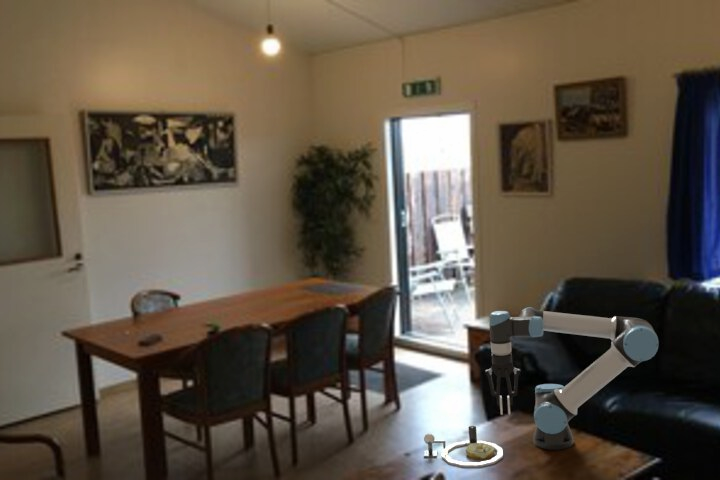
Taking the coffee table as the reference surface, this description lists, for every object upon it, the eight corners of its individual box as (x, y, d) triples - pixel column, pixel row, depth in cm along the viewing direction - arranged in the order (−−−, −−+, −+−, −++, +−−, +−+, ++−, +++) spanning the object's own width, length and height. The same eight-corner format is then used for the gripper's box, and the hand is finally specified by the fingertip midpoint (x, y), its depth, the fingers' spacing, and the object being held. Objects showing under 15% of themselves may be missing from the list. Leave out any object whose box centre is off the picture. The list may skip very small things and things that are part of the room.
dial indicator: (446, 452, 286) (445, 430, 285) (445, 458, 281) (444, 435, 280) (425, 452, 288) (423, 430, 287) (423, 458, 283) (422, 435, 282)
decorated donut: (487, 463, 274) (486, 453, 273) (461, 458, 280) (460, 449, 280) (499, 453, 282) (498, 443, 282) (473, 448, 288) (473, 439, 288)
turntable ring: (502, 442, 291) (501, 425, 290) (502, 467, 268) (501, 448, 267) (444, 442, 296) (443, 426, 295) (440, 467, 273) (438, 449, 272)
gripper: (522, 349, 277) (525, 409, 279) (481, 350, 280) (485, 410, 282) (522, 354, 270) (526, 416, 272) (480, 356, 273) (484, 417, 275)
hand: (505, 413), depth 277 cm, fingers open, 2 cm apart
